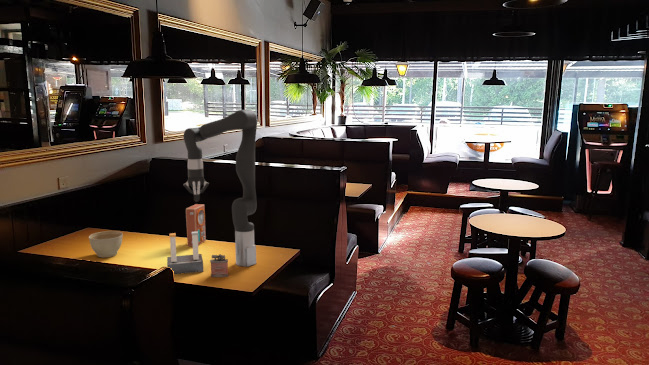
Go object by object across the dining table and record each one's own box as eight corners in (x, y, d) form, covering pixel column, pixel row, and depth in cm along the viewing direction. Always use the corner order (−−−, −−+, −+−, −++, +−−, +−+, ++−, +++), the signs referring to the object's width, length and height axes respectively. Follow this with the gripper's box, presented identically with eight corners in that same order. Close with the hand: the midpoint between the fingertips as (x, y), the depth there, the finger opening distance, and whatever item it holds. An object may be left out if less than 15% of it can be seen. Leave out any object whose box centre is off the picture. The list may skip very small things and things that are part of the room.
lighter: (229, 274, 223) (228, 253, 222) (227, 276, 220) (227, 255, 218) (211, 274, 223) (210, 253, 221) (210, 277, 220) (209, 256, 218)
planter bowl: (93, 262, 241) (91, 241, 239) (87, 254, 254) (86, 234, 252) (127, 256, 250) (125, 235, 248) (119, 248, 263) (118, 229, 261)
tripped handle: (170, 260, 226) (169, 233, 224) (177, 259, 227) (175, 233, 225) (170, 262, 224) (169, 235, 222) (177, 261, 225) (175, 234, 222)
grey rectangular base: (167, 266, 233) (167, 256, 233) (201, 263, 238) (201, 253, 237) (167, 275, 222) (167, 264, 221) (203, 271, 227) (202, 261, 226)
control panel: (208, 240, 280) (196, 247, 265) (196, 239, 281) (184, 246, 266) (206, 203, 276) (194, 209, 262) (195, 203, 278) (183, 209, 263)
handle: (192, 258, 229) (191, 231, 227) (198, 257, 230) (197, 231, 228) (193, 260, 227) (191, 233, 225) (199, 259, 228) (197, 232, 226)
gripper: (182, 169, 237) (183, 203, 240) (209, 168, 241) (210, 202, 244) (181, 167, 244) (183, 200, 247) (208, 166, 248) (209, 199, 251)
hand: (197, 201), depth 245 cm, fingers closed
